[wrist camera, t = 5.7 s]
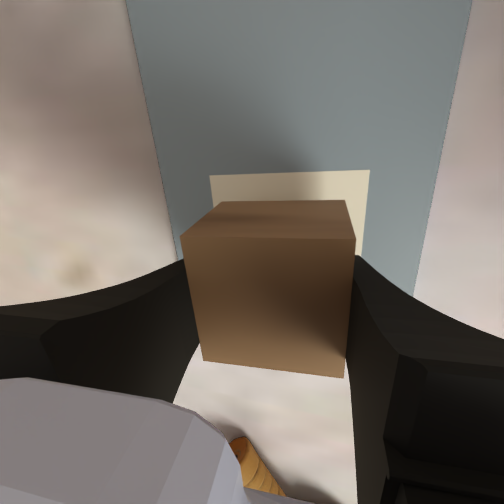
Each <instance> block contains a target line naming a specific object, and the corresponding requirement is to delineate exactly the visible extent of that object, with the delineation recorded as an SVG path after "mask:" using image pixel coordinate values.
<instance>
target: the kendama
mask: <svg viewBox="0 0 504 504" xmlns="http://www.w3.org/2000/svg"><path fill="white" fill-rule="evenodd" d="M229 446H230V447H231V449H232V451H233V453H234V455H235V457H236V459H237V460H238V462H239V464H240V468H241V475H242V481H243V487H246V488H251V489H255V490H259V491H264V492H268V493H272V494H277V495H281V496H285V497H286V495H285V494H284V492H283V491H282V489H281V488H280V486H279V485H278V484H277V482H276V481H275V479H274V478H273V476H272V475H271V474H270V472H269V471H268V469H267V468H266V466H265V465H264V463H263V462H262V460H261V459H260V457H259V456H258V454H257V453H256V451H255V450H254V448H253V446H252V445H251V443H250V442H249V440H248V439H247V438H246V437H240V438H237V439H235V440H233V441H232V442H231V443H229Z"/></svg>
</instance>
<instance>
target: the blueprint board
mask: <svg viewBox="0 0 504 504" xmlns="http://www.w3.org/2000/svg"><path fill="white" fill-rule="evenodd" d="M126 5H127V10H128V15H129V19H130V24H131V29H132V34H133V39H134V44H135V49H136V54H137V59H138V64H139V69H140V74H141V79H142V84H143V89H144V94H145V99H146V103H147V108H148V113H149V118H150V123H151V128H152V133H153V138H154V143H155V148H156V153H157V158H158V163H159V168H160V173H161V178H162V183H163V187H164V192H165V197H166V202H167V207H168V212H169V217H170V222H171V227H172V232H173V237H174V242H175V247H176V252H177V257H178V261H179V260H181V259H183V253H182V247H181V242H180V237H179V236H180V235H182V234H183V233H184V232H185V231H186V230H188V229H189V228H190V227H191V226H192V225H194V224H195V223H196V222H197V221H198V220H200V219H201V218H202V217H203V216H205V215H206V214H207V213H208V212H209V211H211V210H212V209H213V208H214V207H215V206H217V205H218V204H219V203H220V202H222V201H291V200H345V202H346V205H347V209H348V212H349V216H350V219H351V223H352V226H353V230H354V233H355V236H356V249H355V255H359V256H361V257H362V258H363V259H364V260H365V261H366V262H367V263H369V264H370V265H371V266H372V267H373V268H374V269H375V270H377V271H378V272H379V273H380V274H381V275H383V276H384V277H385V278H386V279H388V280H389V281H390V282H391V283H393V284H394V285H396V286H397V287H398V288H400V289H401V290H403V291H404V292H406V293H407V294H409V295H410V296H412V297H413V292H414V287H415V282H416V277H417V272H418V267H419V262H420V258H421V253H422V248H423V243H424V238H425V233H426V228H427V223H428V218H429V213H430V208H431V203H432V198H433V193H434V188H435V183H436V178H437V173H438V168H439V163H440V158H441V153H442V148H443V143H444V139H445V134H446V129H447V124H448V119H449V114H450V109H451V104H452V99H453V94H454V89H455V84H456V79H457V74H458V69H459V64H460V59H461V54H462V49H463V44H464V39H465V34H466V29H467V24H468V20H469V15H470V10H471V5H472V0H126Z"/></svg>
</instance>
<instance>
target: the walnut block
mask: <svg viewBox="0 0 504 504" xmlns="http://www.w3.org/2000/svg"><path fill="white" fill-rule="evenodd" d="M179 237H180V242H181V247H182V253H183V258H184V263H185V268H186V273H187V278H188V284H189V289H190V294H191V299H192V304H193V310H194V315H195V320H196V325H197V330H198V336H199V341H200V346H201V351H202V356H203V361H210V362H218V363H225V364H233V365H241V366H249V367H257V368H265V369H273V370H281V371H288V372H296V373H304V374H312V375H320V376H328V377H336V378H344V368H345V358H346V347H347V336H348V325H349V314H350V303H351V292H352V281H353V270H354V259H355V249H356V236H355V233H354V230H353V226H352V223H351V219H350V216H349V212H348V209H347V205H346V202H345V200H291V201H222V202H220V203H219V204H218V205H217V206H215V207H214V208H213V209H212V210H211V211H209V212H208V213H207V214H206V215H205V216H203V217H202V218H201V219H200V220H198V221H197V222H196V223H195V224H194V225H192V226H191V227H190V228H189V229H188V230H186V231H185V232H184V233H183V234H182V235H180V236H179Z"/></svg>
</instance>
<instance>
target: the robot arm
mask: <svg viewBox="0 0 504 504" xmlns="http://www.w3.org/2000/svg"><path fill="white" fill-rule="evenodd" d="M199 343H200V341H199V336H198V330H197V325H196V320H195V315H194V310H193V304H192V299H191V294H190V289H189V284H188V278H187V273H186V268H185V263H184V258H183V259H181V260H179V261H176V262H174V263H172V264H170V265H168V266H165V267H163V268H161V269H158V270H156V271H154V272H151V273H149V274H146V275H144V276H142V277H139V278H136V279H133V280H131V281H127V282H124V283H121V284H118V285H115V286H112V287H108V288H104V289H100V290H96V291H92V292H88V293H84V294H80V295H75V296H70V297H65V298H59V299H54V300H48V301H41V302H34V303H25V304H17V305H9V306H0V504H316V503H311V502H307V501H303V500H298V499H294V498H290V497H285V496H281V495H277V494H272V493H268V492H264V491H259V490H255V489H251V488H246V487H243V481H242V475H241V468H240V464H239V462H238V460H237V459H236V457H235V455H234V453H233V451H232V449H231V447H230V446H229V444H228V442H227V440H226V438H225V436H224V434H223V433H222V432H221V431H220V430H218V429H217V428H216V427H214V426H213V425H212V424H211V423H209V422H208V421H207V420H205V419H204V418H203V417H201V416H200V415H199V414H197V413H196V412H195V411H192V410H189V409H186V408H183V407H180V406H178V405H175V404H173V401H174V398H175V396H176V393H177V390H178V388H179V385H180V383H181V381H182V378H183V376H184V373H185V371H186V369H187V366H188V364H189V362H190V360H191V358H192V356H193V354H194V352H195V350H196V348H197V347H198V345H199ZM346 363H347V368H348V374H349V381H350V390H351V403H352V417H353V431H354V446H355V463H356V480H357V499H358V504H504V339H502V338H499V337H497V336H494V335H491V334H489V333H486V332H483V331H481V330H478V329H476V328H474V327H471V326H469V325H466V324H464V323H462V322H460V321H457V320H455V319H453V318H451V317H449V316H447V315H445V314H443V313H441V312H439V311H437V310H435V309H433V308H431V307H429V306H427V305H426V304H424V303H422V302H420V301H419V300H417V299H415V298H413V297H412V296H410V295H409V294H407V293H406V292H404V291H403V290H401V289H400V288H398V287H397V286H396V285H394V284H393V283H391V282H390V281H389V280H388V279H386V278H385V277H384V276H383V275H381V274H380V273H379V272H378V271H377V270H375V269H374V268H373V267H372V266H371V265H370V264H369V263H367V262H366V261H365V260H364V259H363V258H362V257H361V256H359V255H355V259H354V270H353V281H352V292H351V303H350V314H349V325H348V336H347V347H346Z"/></svg>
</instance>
